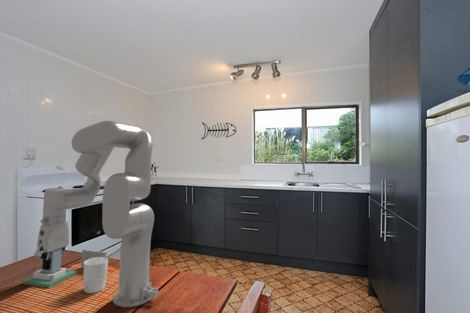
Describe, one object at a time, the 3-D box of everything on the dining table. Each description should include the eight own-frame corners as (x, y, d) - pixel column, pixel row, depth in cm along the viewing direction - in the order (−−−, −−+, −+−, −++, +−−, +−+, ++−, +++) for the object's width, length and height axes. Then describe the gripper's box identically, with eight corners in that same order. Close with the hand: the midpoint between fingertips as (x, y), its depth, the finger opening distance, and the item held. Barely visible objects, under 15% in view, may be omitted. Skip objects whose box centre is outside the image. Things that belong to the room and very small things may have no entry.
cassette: (106, 270, 107) (107, 251, 108) (103, 271, 106) (104, 253, 106) (83, 266, 110) (84, 249, 110) (80, 268, 108) (81, 250, 109)
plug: (60, 271, 99) (61, 248, 99) (51, 275, 96) (53, 251, 96) (47, 269, 100) (49, 246, 101) (39, 273, 97) (40, 249, 97)
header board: (76, 274, 102) (77, 266, 102) (49, 287, 91) (49, 279, 91) (52, 270, 105) (52, 263, 105) (22, 283, 93) (23, 275, 93)
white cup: (79, 288, 90) (80, 260, 91) (102, 281, 96) (103, 255, 97) (86, 296, 85) (87, 266, 86) (110, 289, 91) (111, 260, 91)
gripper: (41, 225, 90) (38, 277, 89) (79, 216, 106) (76, 260, 105) (25, 223, 91) (21, 274, 91) (64, 215, 108) (62, 258, 107)
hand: (51, 266), depth 98 cm, fingers closed on plug, 3 cm apart
